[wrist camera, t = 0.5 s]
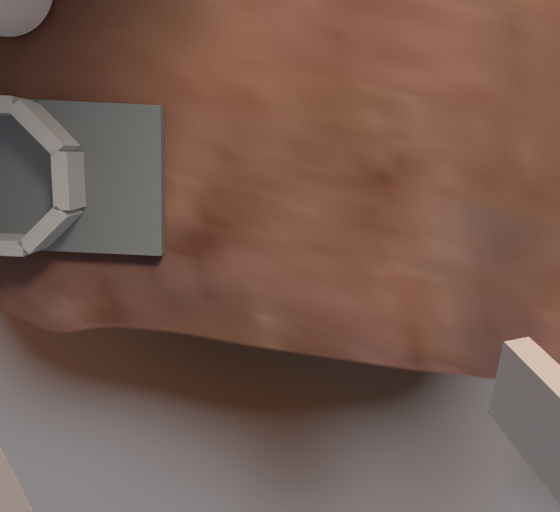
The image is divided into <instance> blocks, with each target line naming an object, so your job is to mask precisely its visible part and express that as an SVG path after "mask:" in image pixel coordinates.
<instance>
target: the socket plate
mask: <svg viewBox="0 0 560 512" xmlns="http://www.w3.org/2000/svg"><path fill="white" fill-rule="evenodd" d="M37 251H62V252H84V253H107V254H129V255H151V256H162V255H163V254H165V135H164V107H163V106H161V105H145V104H124V103H103V102H82V101H62V100H41V99H24V98H20V97H15V96H7V95H0V256H18V257H24V256H26V255H29V254H32V253H34V252H37Z"/></svg>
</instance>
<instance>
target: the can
mask: <svg viewBox="0 0 560 512" xmlns="http://www.w3.org/2000/svg"><path fill="white" fill-rule="evenodd" d="M51 4H52V0H0V36H3V37H15V36H20V35H24V34H26V33H28V32H30V31H32V30H33V29H35V28H36V27H37V26H38V25H39V24H40V23H41V22H42V21H43V20H44V19H45V17H46V16H47V14H48V12H49V10H50V7H51Z"/></svg>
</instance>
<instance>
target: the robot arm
mask: <svg viewBox="0 0 560 512" xmlns="http://www.w3.org/2000/svg"><path fill="white" fill-rule="evenodd" d="M488 413H489V414H490V416H491V417H492V418H493V419H494V421H495V422H496V423H497V425H498V426H499V427H500V429H501V430H502V431H503V432H504V434H505V435H506V436H507V437H508V439H509V440H510V441H511V443H512V444H513V445H514V446H515V448H516V449H517V450H518V452H519V453H520V454H521V456H522V457H523V458H524V459H525V461H526V462H527V463H528V464H529V466H530V467H531V468H532V470H533V471H534V472H535V474H536V475H537V476H538V477H539V479H540V480H541V481H542V483H543V484H544V485H545V486H546V488H547V489H548V490H549V492H550V493H551V494H552V495H553V497H554V498H555V499H556V500H557V502H558V503H559V504H560V365H559V364H558V363H557V362H556V361H554V360H553V359H552V358H551V357H550V356H549V355H548V354H547V353H546V352H545V351H544V350H543V349H541V348H540V347H539V346H538V345H537V344H536V343H535V342H534V341H533V340H532V339H531V338H530V337H526V338H521V339H515V340H510V341H505V342H504V344H503V348H502V353H501V357H500V362H499V366H498V371H497V375H496V380H495V384H494V389H493V393H492V398H491V402H490V407H489V411H488ZM32 511H33V509H32V507H31V506H30V504H29V502H28V500H27V498H26V496H25V494H24V492H23V490H22V488H21V486H20V484H19V482H18V480H17V478H16V477H15V475H14V472H13V470H12V469H11V466H10V465H9V463H8V461H7V459H6V457H5V455H4V453H3V451H2V449H1V447H0V512H32Z"/></svg>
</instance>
